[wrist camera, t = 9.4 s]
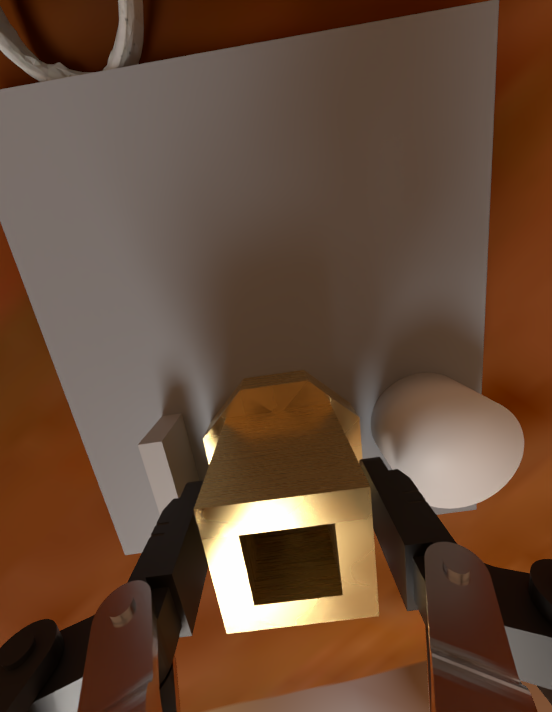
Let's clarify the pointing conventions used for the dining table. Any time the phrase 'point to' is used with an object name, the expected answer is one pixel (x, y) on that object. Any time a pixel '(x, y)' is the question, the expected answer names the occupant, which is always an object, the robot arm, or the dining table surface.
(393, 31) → the carrier
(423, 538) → the robot arm
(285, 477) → the gold hollow block
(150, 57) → the dining table surface
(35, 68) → the ceramic mug
